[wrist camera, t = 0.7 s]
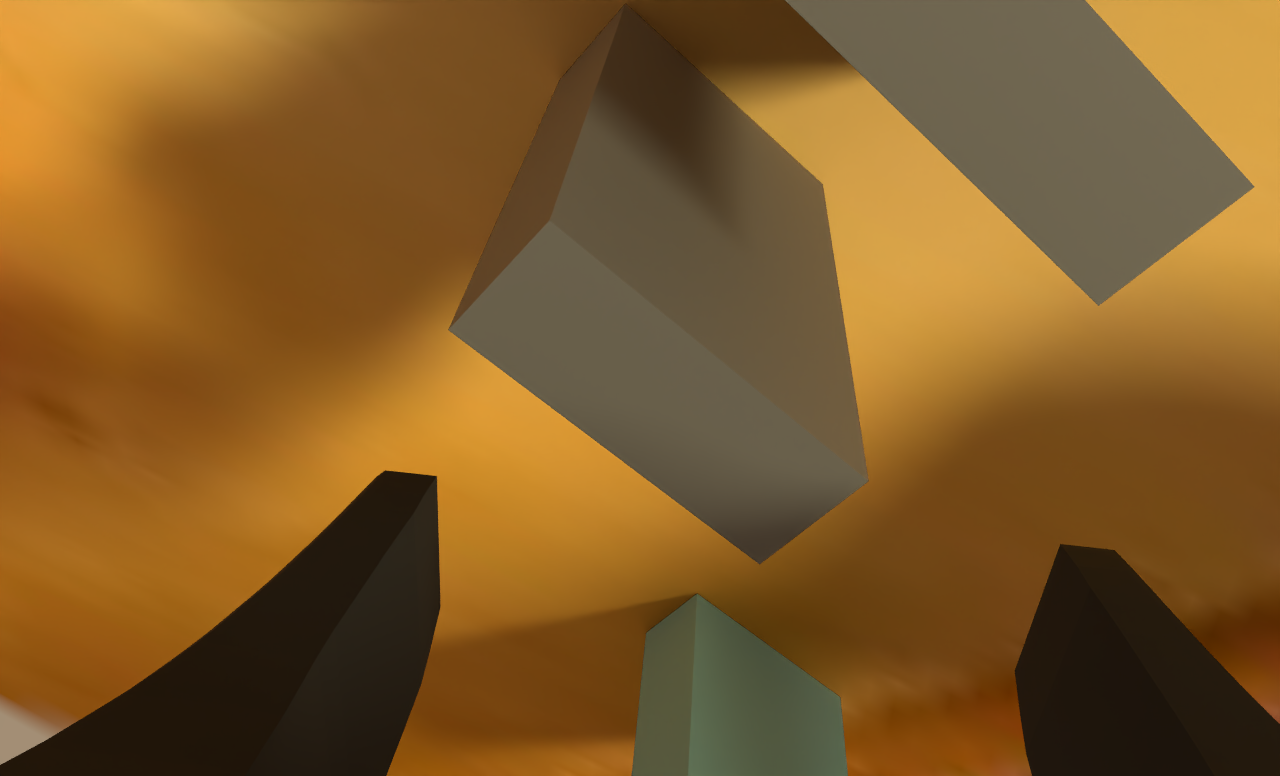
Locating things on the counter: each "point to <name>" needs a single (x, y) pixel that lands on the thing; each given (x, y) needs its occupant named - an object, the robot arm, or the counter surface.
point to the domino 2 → (730, 704)
